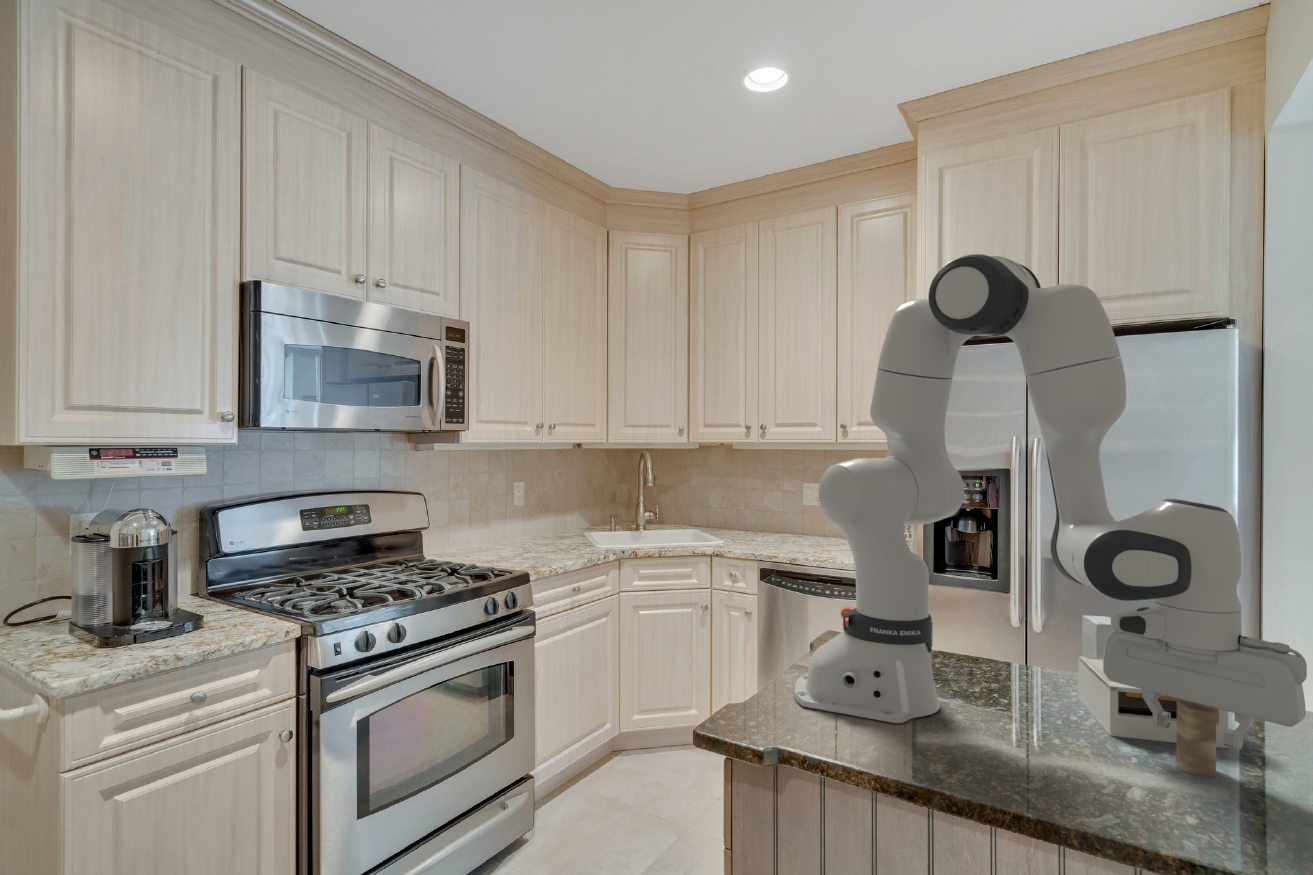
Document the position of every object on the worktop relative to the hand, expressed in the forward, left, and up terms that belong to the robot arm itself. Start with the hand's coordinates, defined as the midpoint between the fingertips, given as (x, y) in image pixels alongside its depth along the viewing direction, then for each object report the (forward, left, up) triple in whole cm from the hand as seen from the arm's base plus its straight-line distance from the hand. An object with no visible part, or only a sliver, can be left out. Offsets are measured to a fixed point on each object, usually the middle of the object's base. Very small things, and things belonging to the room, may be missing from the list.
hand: (1196, 736), depth 87 cm
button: (0, +15, -1) cm, 15 cm away
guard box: (0, +15, -4) cm, 16 cm away
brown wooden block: (0, 0, -4) cm, 4 cm away
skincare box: (-2, +27, -4) cm, 28 cm away
